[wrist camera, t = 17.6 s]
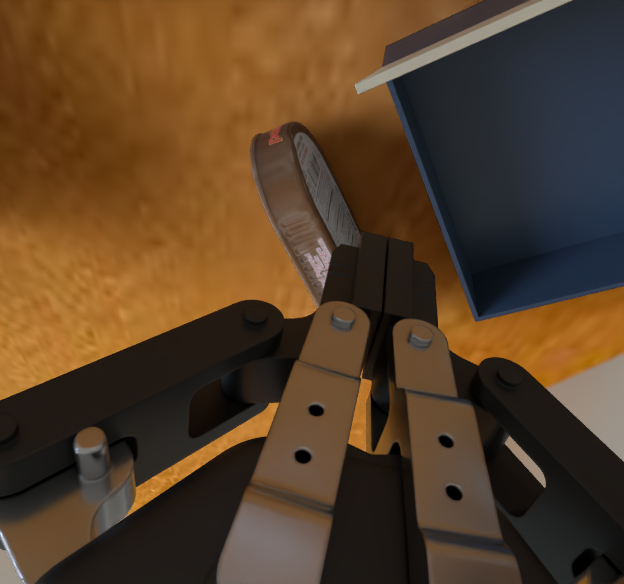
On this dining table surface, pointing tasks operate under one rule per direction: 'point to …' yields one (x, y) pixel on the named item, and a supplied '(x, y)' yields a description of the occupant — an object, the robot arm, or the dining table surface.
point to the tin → (302, 201)
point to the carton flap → (458, 42)
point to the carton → (523, 151)
